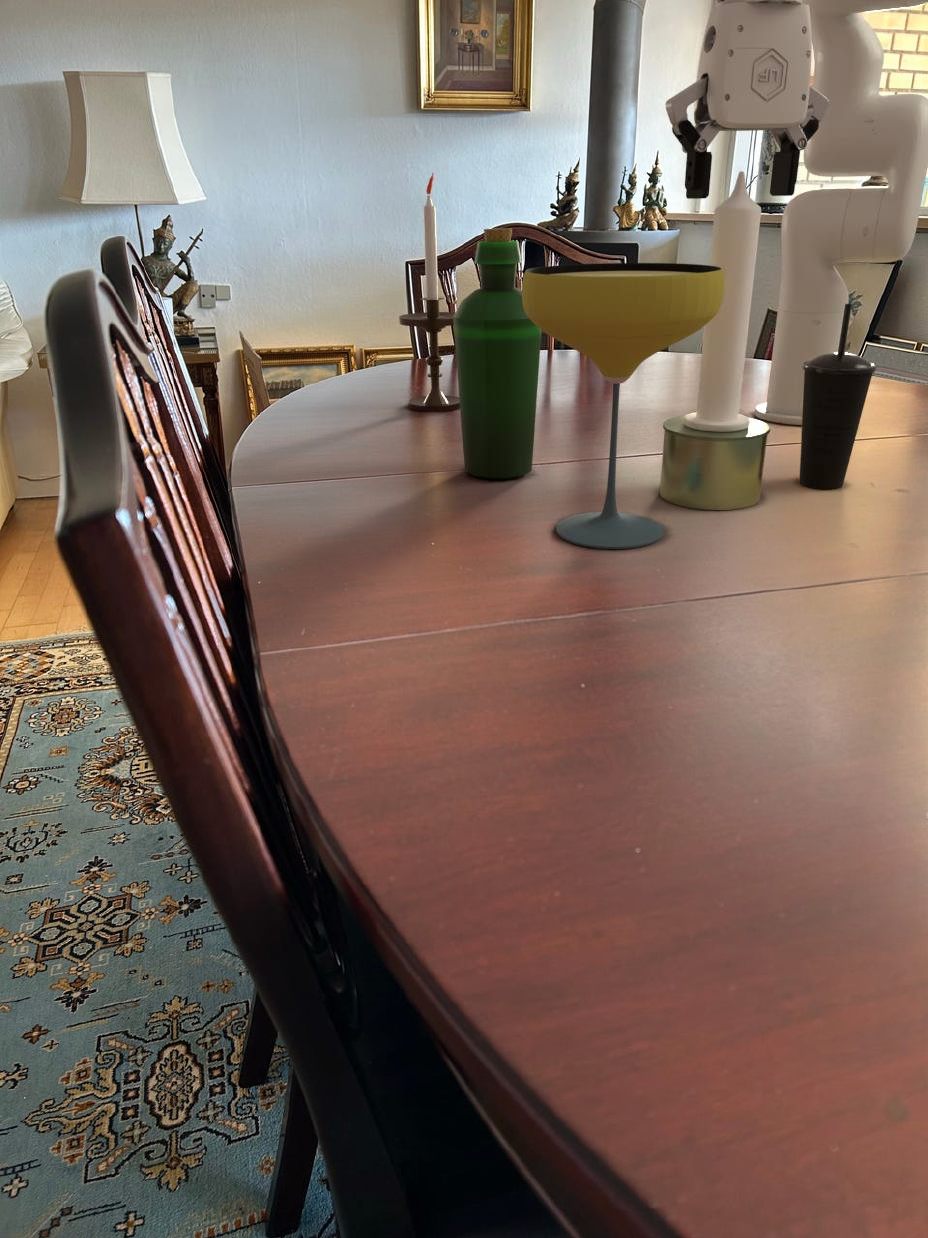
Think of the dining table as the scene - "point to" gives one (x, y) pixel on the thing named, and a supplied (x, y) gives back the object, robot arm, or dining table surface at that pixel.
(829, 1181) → the dining table surface
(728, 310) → the candle
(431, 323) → the candlestick
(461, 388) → the bottle
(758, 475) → the tin
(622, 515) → the cocktail glass
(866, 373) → the drinking cup
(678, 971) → the dining table surface
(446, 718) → the dining table surface
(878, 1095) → the dining table surface
